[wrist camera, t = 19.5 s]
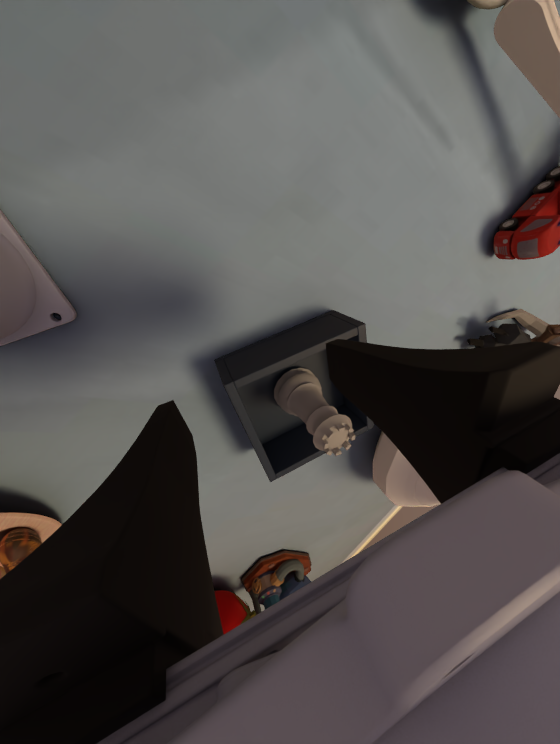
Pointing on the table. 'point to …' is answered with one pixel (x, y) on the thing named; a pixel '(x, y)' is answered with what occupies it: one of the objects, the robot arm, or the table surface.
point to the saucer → (487, 3)
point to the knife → (533, 44)
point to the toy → (518, 331)
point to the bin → (260, 375)
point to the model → (276, 577)
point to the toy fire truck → (533, 224)
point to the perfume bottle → (22, 537)
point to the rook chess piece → (313, 410)
